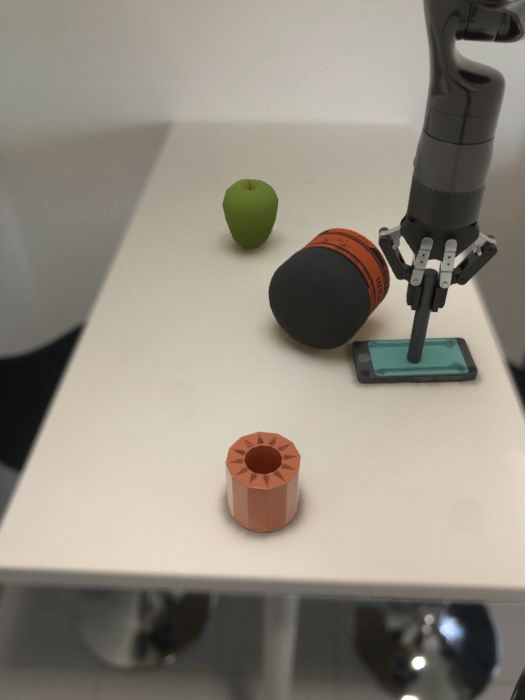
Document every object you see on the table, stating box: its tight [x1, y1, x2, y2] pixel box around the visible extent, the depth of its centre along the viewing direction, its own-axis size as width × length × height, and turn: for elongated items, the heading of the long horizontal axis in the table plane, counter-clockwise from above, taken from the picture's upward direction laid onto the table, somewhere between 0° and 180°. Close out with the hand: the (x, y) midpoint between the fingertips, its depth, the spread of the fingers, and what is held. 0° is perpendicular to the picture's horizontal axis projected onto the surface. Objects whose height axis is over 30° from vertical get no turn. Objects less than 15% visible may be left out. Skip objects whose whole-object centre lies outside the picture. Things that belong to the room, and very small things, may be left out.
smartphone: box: [351, 337, 479, 384], centre depth 87 cm, size 7×1×15 cm
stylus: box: [407, 267, 439, 363], centre depth 82 cm, size 2×2×14 cm
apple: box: [222, 178, 280, 251], centre depth 105 cm, size 9×8×12 cm
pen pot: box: [225, 431, 302, 533], centre depth 69 cm, size 7×7×7 cm
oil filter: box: [267, 227, 391, 350], centre depth 88 cm, size 13×12×13 cm
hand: (424, 306), depth 81 cm, fingers closed on stylus, 2 cm apart
